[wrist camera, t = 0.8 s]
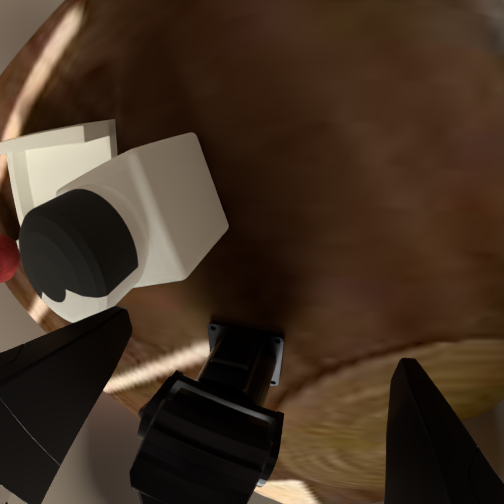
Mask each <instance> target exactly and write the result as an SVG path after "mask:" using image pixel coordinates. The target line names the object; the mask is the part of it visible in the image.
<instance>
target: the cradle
mask: <svg viewBox="0 0 504 504" xmlns="http://www.w3.org/2000/svg"><path fill="white" fill-rule="evenodd" d="M3 154H7V161H8V168H9V174H10V180H11V186H12V191H13V196H14V201H15V206H16V211H17V215H18V219H19V223H20V227H21V225H22V222H23V219H24V217H25V215H26V214H27V213H28V212H29V211H30V210H32V209H33V208H35V207H37V206H39V205H41V204H43V203H45V202H47V201H49V200H51V199H53V198H55V197H56V192H57V190H58V189H60V188H61V187H63V186H65V185H66V184H68V183H70V182H71V181H73V180H75V179H76V178H78V177H80V176H81V175H83V174H85V173H87V172H89V171H90V170H92V169H94V168H96V167H98V166H99V165H101V164H103V163H105V162H107V161H109V160H111V159H112V158H114V157H116V156H118V153H117V140H116V124H115V119H111V120H103V121H96V122H89V123H83V124H77V125H71V126H65V127H60V128H55V129H49V130H45V131H40V132H35V133H31V134H26V135H23V136H19V137H16V138H13V139H9V140H6V141H3V142H0V155H3ZM16 242H17V245H18V249H19V239H18V240H17V241H16Z"/></svg>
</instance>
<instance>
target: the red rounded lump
mask: <svg viewBox="0 0 504 504" xmlns="http://www.w3.org/2000/svg"><path fill="white" fill-rule="evenodd" d="M19 261H20V251H19V249H18V245H17V242H16V241H14V240H13V239H11V238H10V237H8V236H6V235H3V234H0V283H2V282H5V281H7V280H9V279H10V278H11V277H12V276H13V275H14V274H15V272H16V270H17V268H18V266H19Z"/></svg>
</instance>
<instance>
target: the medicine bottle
mask: <svg viewBox="0 0 504 504" xmlns="http://www.w3.org/2000/svg"><path fill="white" fill-rule="evenodd" d="M228 227H229V225H228V222H227V219H226V216H225V214H224V211H223V208H222V205H221V202H220V200H219V197H218V194H217V191H216V189H215V186H214V183H213V180H212V177H211V175H210V172H209V169H208V166H207V164H206V161H205V158H204V155H203V152H202V149H201V147H200V144H199V141H198V138H197V136H196V134H195V133H192V132H191V133H186V134H182V135H178V136H174V137H171V138H167V139H163V140H160V141H156V142H153V143H149V144H146V145H143V146H139V147H136V148H133V149H130V150H128V151H126V152H124V153H122V154H120V155H118V156H116V157H114V158H112V159H111V160H109V161H107V162H105V163H103V164H101V165H99V166H98V167H96V168H94V169H92V170H90V171H89V172H87V173H85V174H83V175H81V176H80V177H78V178H76V179H75V180H73V181H71V182H70V183H68V184H66V185H65V186H63V187H61V188H60V189H58V190H57V192H56V197H55V198H53V199H51V200H49V201H47V202H45V203H43V204H41V205H39V206H37V207H35V208H33V209H32V210H30V211H29V212H28V213H27V214H26V215H25V217H24V219H23V222H22V225H21V228H20V231H19V251H20V256H21V260H22V264H23V267H24V270H25V272H26V275H27V277H28V279H29V281H30V283H31V285H32V287H33V288H34V290H35V291H36V293H37V294H38V295H39V297H40V298H41V299H42V300H43V301H44V302H45V304H47V305H48V306H49V307H50V308H51V309H52V310H53V311H54V312H55V313H57V314H58V315H59V316H61V317H62V318H64V319H66V320H68V321H70V322H72V323H75V322H77V321H79V320H82V319H84V318H87V317H89V316H91V315H94V314H96V313H99V312H101V311H103V310H106V309H108V308H111V307H113V306H115V305H116V304H117V303H118V302H119V301H120V300H121V299H122V298H123V297H124V296H125V295H126V294H127V293H128V292H129V291H130V290H131V289H132V288H134V287H141V286H148V285H155V284H162V283H168V282H175V281H182V280H184V279H186V278H187V277H188V276H189V275H190V273H191V272H192V271H193V270H194V269H195V267H196V266H197V265H198V264H199V263H200V261H201V260H202V259H203V258H204V257H205V256H206V254H207V253H208V252H209V251H210V250H211V248H212V247H213V246H214V245H215V244H216V243H217V241H218V240H219V239H220V238H221V237H222V236H223V234H224V233H225V232H226V231H227V230H228Z"/></svg>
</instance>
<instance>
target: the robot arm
mask: <svg viewBox="0 0 504 504" xmlns="http://www.w3.org/2000/svg"><path fill="white" fill-rule="evenodd" d="M213 326H214V327H213ZM208 334H209V345H210V354H209V356H208V358H207V360H206V362H205V364H204V365H203V367H202V369H201V371H200V373H199V375H198V377H197V379H196V380H194V379H192V378H190V377H188V376H185V375H183V373H182V372H179V371H177V370H176V371H175V373H174V374H173V375H172V376H171V377H170V376H169V378H168V379H167V380H166V381H165V383H164V384H163V385H162V386H161V388H160V389H159V390H158V391H157V393H156V394H155V395H154V396H153V398H152V399H151V400H150V401H149V402H147V403H146V404H145V405H144V406H143V407H142V408H141V409H140V410H139V413H138V415H139V418H140V425H139V430H138V438H140V439H142V440H143V441H142V443H141V446H140V448H139V450H138V453H137V455H136V457H135V460H134V462H133V466H132V468H131V470H130V481H131V487H132V488H134V489H135V490H137V491H138V495H139V499H140V503H141V504H247V503H248V501H249V499H250V497H251V495H252V493H253V491H254V489H255V487H256V486H258V487H262V486H263V485H264V484H265V483H266V482H267V480H268V479H269V477H270V475H271V473H272V471H273V469H274V466H275V464H276V461H277V458H278V454H279V450H280V443H281V435H282V427H283V420H284V413H282V412H279V411H277V412H275V411H273V410H270V409H267V408H264V407H263V406H264V403H265V400H266V397H267V393H268V390H269V387H270V385H271V386H277V385H278V384H279V379H280V372H281V364H282V356H283V348H284V336H283V335H281V334H278V333H272V332H267V331H262V330H256V329H251V328H246V327H241V326H236V325H231V324H226V323H221V322H217V321H211V322H210V323H209V325H208ZM131 335H132V325H131V322H130V318H129V314H128V311H127V310H126V309H125V308H122V307H119V306H113V307H111V308H108V309H106V310H103V311H101V312H99V313H96V314H94V315H91V316H89V317H87V318H84V319H82V320H79V321H77V322H75V323H72V324H70V325H67V326H65V327H63V328H60V329H58V330H55V331H53V332H51V333H48V334H46V335H44V336H41V337H39V338H36V339H34V340H31V341H29V342H27V343H25V344H22V345H19V346H17V347H14V348H12V349H9V350H7V351H4V352H2V353H0V504H7V500H8V499H9V497H10V496H11V494H14V495H15V496H17V497H18V498H20V499H21V500H23V501H24V502H26V503H27V504H41V503H42V501H43V499H44V497H45V495H46V493H47V491H48V489H49V487H50V485H51V483H52V481H53V479H54V477H55V475H56V473H57V471H58V469H59V468H60V465H61V464H62V462H63V460H64V458H65V456H66V454H67V452H68V450H69V449H70V447H71V445H72V443H73V441H74V440H75V438H76V436H77V434H78V432H79V431H80V429H81V427H82V425H83V424H84V422H85V420H86V418H87V417H88V415H89V413H90V411H91V409H92V408H93V406H94V404H95V403H96V401H97V399H98V398H99V396H100V394H101V393H102V391H103V389H104V388H105V386H106V384H107V382H108V381H109V379H110V377H111V376H112V374H113V372H114V370H115V368H116V366H117V364H118V362H119V360H120V358H121V356H122V354H123V352H124V349H125V347H126V345H127V343H128V341H129V339H130V337H131ZM276 339H279V340H276ZM384 504H504V483H503V482H502V480H501V479H500V478H499V476H498V475H497V474H496V472H495V471H494V470H493V468H492V467H491V465H490V464H489V462H488V461H487V459H486V458H485V456H484V455H483V453H482V452H481V450H480V449H479V447H477V444H476V443H475V442H474V440H473V439H472V437H471V435H470V434H469V432H468V431H467V429H466V428H465V427H464V425H463V424H462V422H461V421H460V419H459V418H458V416H457V415H456V413H455V412H454V411H453V409H452V408H451V406H450V405H449V404H448V402H447V401H446V399H445V398H444V397H443V395H442V394H441V392H440V391H439V390H438V388H437V387H436V386H435V384H434V383H433V381H432V380H431V379H430V377H429V376H428V375H427V373H426V372H425V371H424V369H423V368H422V367H421V365H420V364H419V363H418V361H417V360H416V359H414V358H402V359H401V360H400V361H399V363H398V366H397V368H396V370H395V372H394V374H393V377H392V379H391V385H390V398H389V410H388V420H387V431H386V477H385V496H384Z"/></svg>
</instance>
